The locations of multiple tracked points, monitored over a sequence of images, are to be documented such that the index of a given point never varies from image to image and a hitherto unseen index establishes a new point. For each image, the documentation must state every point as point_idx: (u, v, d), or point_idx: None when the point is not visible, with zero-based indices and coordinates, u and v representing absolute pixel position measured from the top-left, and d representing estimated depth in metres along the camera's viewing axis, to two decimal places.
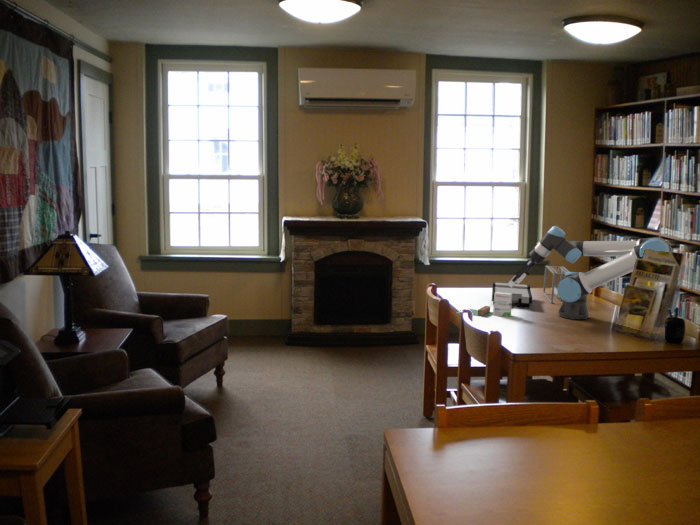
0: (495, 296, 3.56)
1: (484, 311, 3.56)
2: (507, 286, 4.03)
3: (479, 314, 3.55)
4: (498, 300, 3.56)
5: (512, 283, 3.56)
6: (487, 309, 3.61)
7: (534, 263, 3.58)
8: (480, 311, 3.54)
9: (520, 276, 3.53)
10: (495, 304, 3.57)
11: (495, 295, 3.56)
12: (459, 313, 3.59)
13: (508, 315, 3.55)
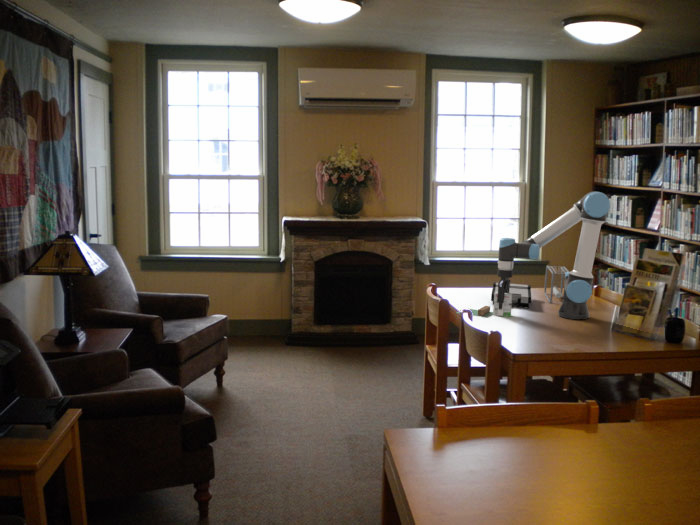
0: (495, 296, 3.56)
1: (484, 311, 3.56)
2: None
3: (479, 314, 3.55)
4: None
5: (501, 311, 3.55)
6: (487, 309, 3.61)
7: (507, 280, 3.56)
8: (480, 311, 3.54)
9: (503, 300, 3.54)
10: (495, 304, 3.57)
11: (495, 295, 3.56)
12: (459, 313, 3.59)
13: (508, 315, 3.55)
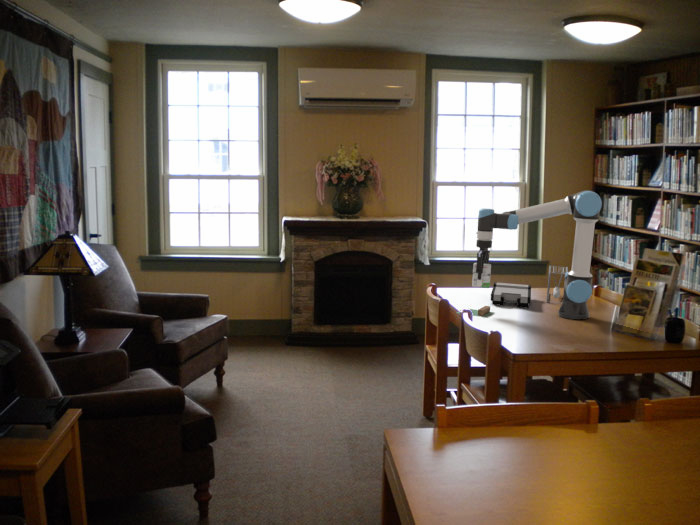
0: (474, 266, 3.57)
1: (484, 311, 3.56)
2: (508, 286, 4.03)
3: (479, 314, 3.55)
4: None
5: (480, 282, 3.56)
6: (487, 309, 3.61)
7: (486, 251, 3.57)
8: (480, 311, 3.54)
9: (482, 271, 3.54)
10: (474, 274, 3.57)
11: (474, 265, 3.57)
12: (459, 313, 3.59)
13: (487, 285, 3.56)
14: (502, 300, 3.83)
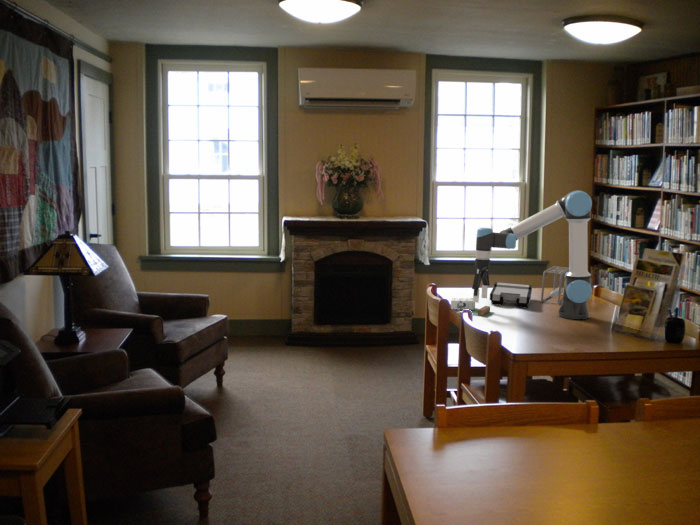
0: (454, 300, 3.68)
1: (484, 311, 3.56)
2: (508, 286, 4.03)
3: (479, 314, 3.55)
4: (458, 299, 3.69)
5: (476, 298, 3.53)
6: (487, 309, 3.61)
7: (485, 270, 3.58)
8: (480, 311, 3.54)
9: (478, 287, 3.52)
10: (462, 300, 3.68)
11: (453, 300, 3.69)
12: (459, 313, 3.59)
13: (472, 298, 3.73)
14: (501, 300, 3.83)
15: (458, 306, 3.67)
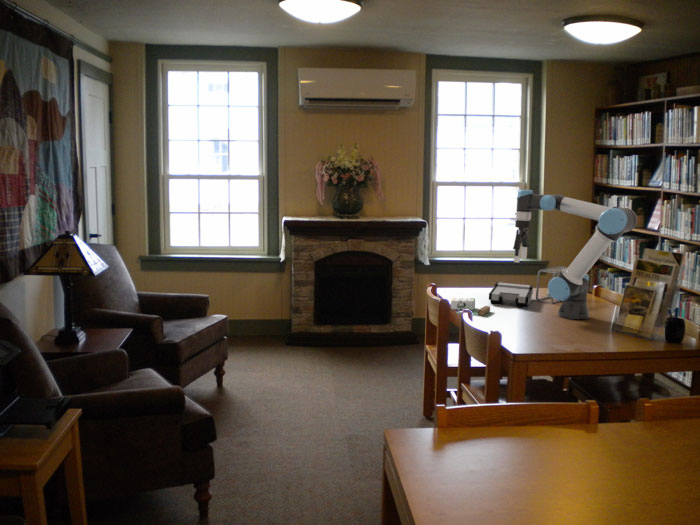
0: (454, 300, 3.68)
1: (484, 311, 3.56)
2: (509, 286, 4.03)
3: (479, 314, 3.55)
4: (458, 299, 3.69)
5: (517, 258, 3.61)
6: (487, 309, 3.61)
7: (525, 231, 3.65)
8: (480, 311, 3.54)
9: (519, 247, 3.60)
10: (462, 300, 3.68)
11: (453, 300, 3.69)
12: (459, 313, 3.59)
13: (472, 298, 3.73)
14: (500, 300, 3.83)
15: (458, 306, 3.67)
